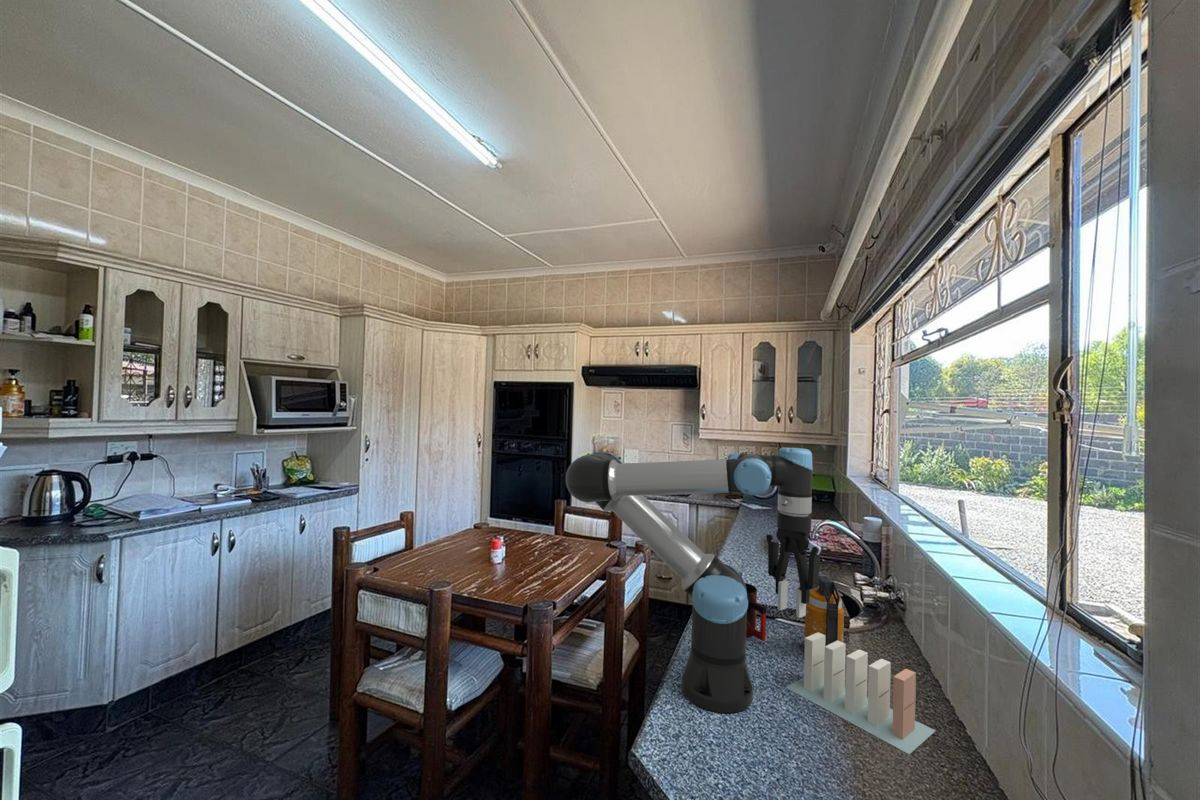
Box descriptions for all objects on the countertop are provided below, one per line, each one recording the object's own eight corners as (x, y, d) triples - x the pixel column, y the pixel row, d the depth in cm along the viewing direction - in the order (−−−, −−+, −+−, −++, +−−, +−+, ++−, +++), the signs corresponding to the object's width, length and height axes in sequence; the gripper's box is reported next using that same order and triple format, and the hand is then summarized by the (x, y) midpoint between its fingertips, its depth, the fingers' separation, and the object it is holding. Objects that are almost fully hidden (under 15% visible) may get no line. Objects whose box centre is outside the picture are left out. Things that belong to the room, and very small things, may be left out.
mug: (764, 646, 127) (765, 600, 127) (715, 630, 135) (716, 587, 135) (775, 633, 134) (776, 590, 135) (728, 619, 143) (729, 578, 143)
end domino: (892, 734, 92) (893, 676, 92) (904, 724, 95) (905, 668, 96) (902, 739, 91) (904, 680, 91) (914, 729, 94) (916, 672, 94)
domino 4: (867, 721, 96) (868, 665, 96) (880, 712, 99) (881, 658, 99) (877, 726, 94) (878, 669, 95) (889, 717, 98) (890, 662, 98)
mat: (785, 688, 107) (785, 687, 107) (814, 673, 114) (814, 671, 114) (909, 755, 87) (909, 754, 87) (935, 732, 94) (935, 730, 94)
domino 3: (845, 709, 100) (846, 655, 100) (857, 701, 103) (858, 649, 103) (853, 714, 98) (855, 659, 98) (866, 705, 101) (867, 652, 101)
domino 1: (803, 687, 107) (804, 637, 107) (816, 680, 110) (817, 632, 111) (811, 691, 106) (812, 641, 106) (824, 684, 109) (825, 635, 109)
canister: (834, 649, 126) (836, 573, 127) (852, 671, 115) (854, 588, 116) (799, 646, 127) (801, 570, 128) (813, 668, 116) (816, 585, 117)
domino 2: (823, 698, 103) (824, 646, 104) (836, 690, 106) (837, 640, 107) (831, 702, 102) (832, 650, 102) (844, 694, 105) (845, 643, 105)
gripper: (753, 507, 119) (751, 603, 118) (820, 522, 105) (817, 630, 104) (771, 505, 123) (769, 597, 122) (838, 518, 109) (835, 622, 108)
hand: (791, 612), depth 113 cm, fingers open, 4 cm apart
